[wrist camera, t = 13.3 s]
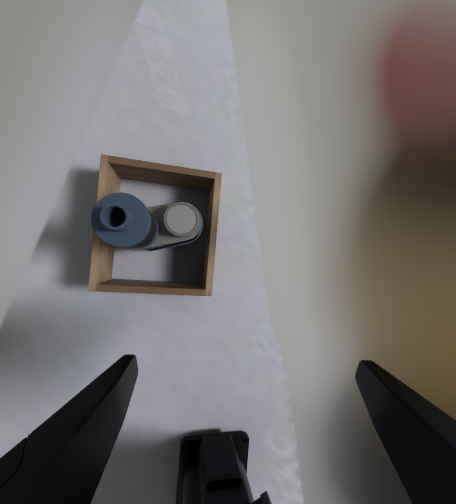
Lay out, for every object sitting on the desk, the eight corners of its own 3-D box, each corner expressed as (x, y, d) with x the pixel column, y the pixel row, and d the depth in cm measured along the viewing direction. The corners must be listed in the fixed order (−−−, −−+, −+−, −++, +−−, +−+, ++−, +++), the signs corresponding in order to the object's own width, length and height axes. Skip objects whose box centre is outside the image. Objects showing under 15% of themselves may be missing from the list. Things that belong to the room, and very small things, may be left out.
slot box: (206, 289, 21) (211, 296, 18) (104, 284, 19) (88, 290, 16) (215, 186, 21) (221, 173, 18) (115, 171, 20) (100, 154, 16)
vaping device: (136, 225, 20) (71, 187, 8) (194, 215, 21) (208, 169, 9) (142, 253, 20) (86, 255, 8) (199, 242, 21) (220, 230, 9)
